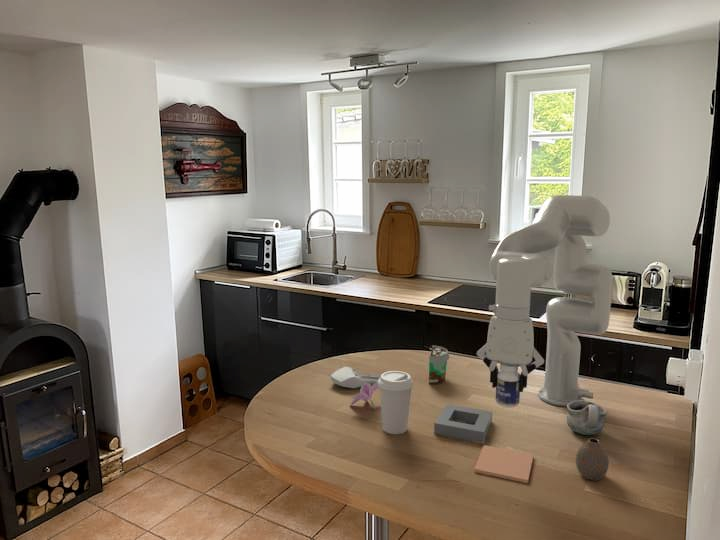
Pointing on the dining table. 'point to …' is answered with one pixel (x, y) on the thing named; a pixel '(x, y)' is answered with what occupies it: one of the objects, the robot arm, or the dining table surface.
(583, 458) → the vase
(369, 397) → the lily
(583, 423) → the mug
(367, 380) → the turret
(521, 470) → the terracotta tile
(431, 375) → the food container
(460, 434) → the bottle holder
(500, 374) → the pill bottle
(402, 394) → the coffee cup
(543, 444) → the dining table surface
